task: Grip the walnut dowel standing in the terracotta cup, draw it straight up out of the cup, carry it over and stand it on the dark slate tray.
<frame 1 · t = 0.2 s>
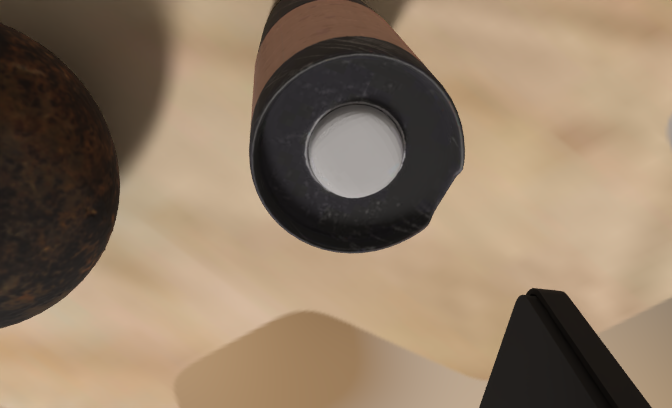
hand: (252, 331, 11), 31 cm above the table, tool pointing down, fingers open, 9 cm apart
travel mug: (319, 43, 40), on the table
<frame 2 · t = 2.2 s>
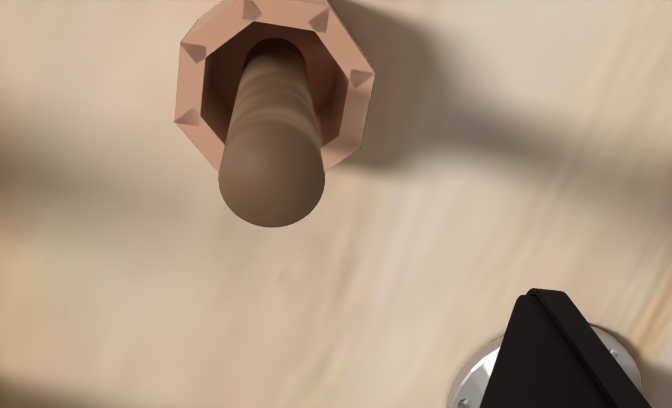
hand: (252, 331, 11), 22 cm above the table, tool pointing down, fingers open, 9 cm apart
cup: (275, 65, 31), on the table
dowel: (275, 69, 31), point 1 cm above the table, touching cup
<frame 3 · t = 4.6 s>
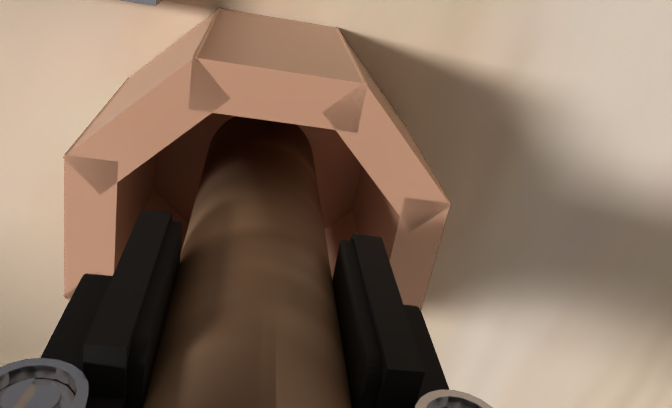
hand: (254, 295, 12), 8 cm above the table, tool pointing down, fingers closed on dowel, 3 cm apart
cup: (261, 151, 19), on the table
dowel: (260, 161, 18), point 1 cm above the table, touching cup, gripper
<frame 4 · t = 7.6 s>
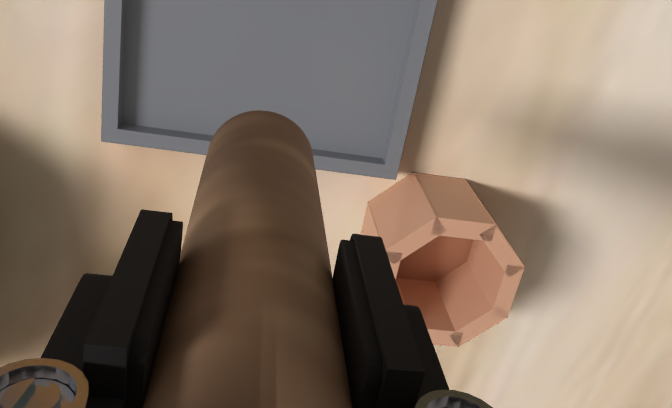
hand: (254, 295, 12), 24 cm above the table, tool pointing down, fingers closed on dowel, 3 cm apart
cup: (424, 233, 40), on the table
dowel: (260, 161, 18), point 17 cm above the table, touching gripper
tray: (268, 44, 34), on the table
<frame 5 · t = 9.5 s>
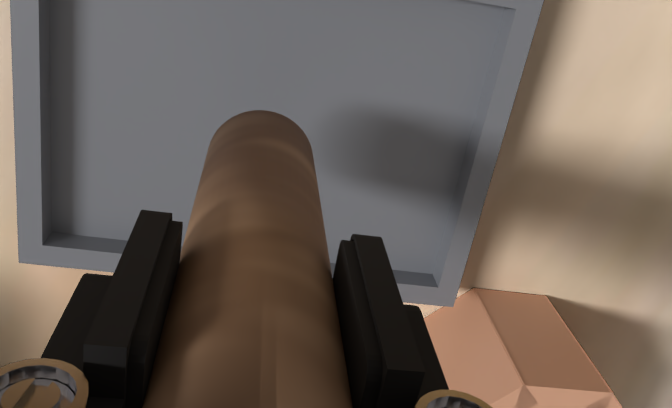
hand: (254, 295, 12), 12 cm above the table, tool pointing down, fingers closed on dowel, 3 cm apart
cup: (485, 365, 28), on the table
dowel: (260, 160, 18), point 5 cm above the table, touching gripper
tray: (268, 116, 23), on the table
when the fingers open (8 cm above the table, at t = 11.0 s): dowel stays where it is, resting on tray.
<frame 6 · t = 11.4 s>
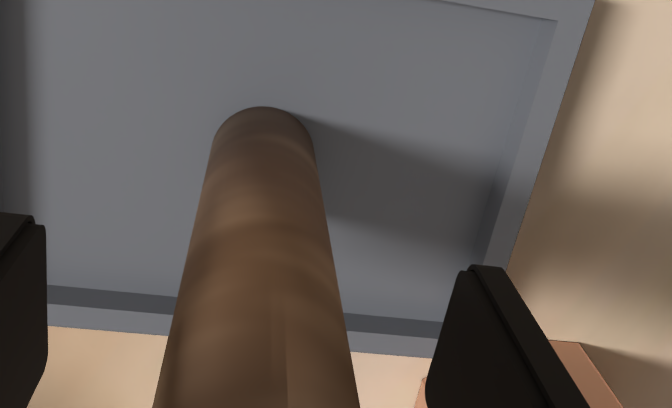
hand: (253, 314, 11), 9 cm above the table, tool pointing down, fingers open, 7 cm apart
dowel: (263, 155, 19), point 1 cm above the table, touching tray
tray: (261, 145, 19), on the table
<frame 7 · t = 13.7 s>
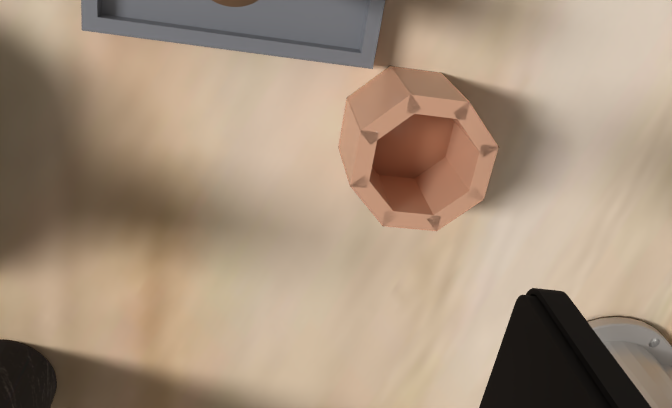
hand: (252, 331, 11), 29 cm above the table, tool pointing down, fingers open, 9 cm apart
travel mug: (6, 376, 46), on the table
cup: (402, 129, 40), on the table
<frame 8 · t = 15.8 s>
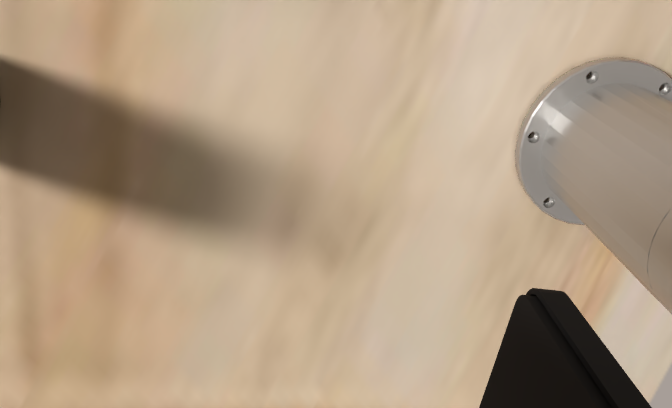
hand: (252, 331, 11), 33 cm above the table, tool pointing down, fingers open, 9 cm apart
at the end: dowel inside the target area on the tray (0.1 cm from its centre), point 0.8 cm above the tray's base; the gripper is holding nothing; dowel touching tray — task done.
